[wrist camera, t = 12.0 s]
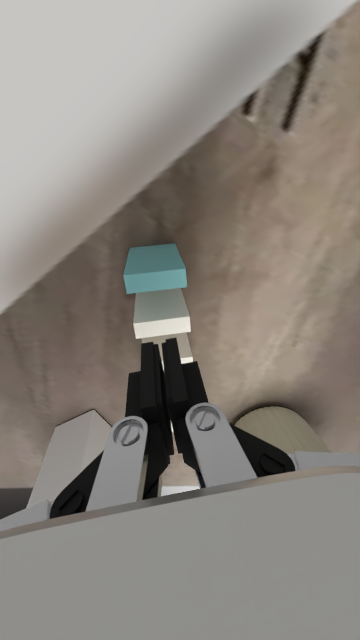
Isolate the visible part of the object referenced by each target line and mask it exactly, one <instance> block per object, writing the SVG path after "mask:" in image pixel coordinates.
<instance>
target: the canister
mask: <svg viewBox="0 0 360 640" xmlns="http://www.w3.org/2000/svg"><path fill="white" fill-rule="evenodd" d="M234 426H236V427H238V428H240V429H242V430H244V431H246V432H248V433H250V434H252V435H254V436H256V437H258V438H260V439H262V440H264V441H265V442H267V443H269V444H271V445H273V446H275V447H277V448H279V449H281V450H282V451H284V452H285V453H287V454H295V451H303V452H329V453H332V452H331V450H330V449H329V448H328V447H327V446H326V444H325V443H324V442H323V441H322V440H321V438H320V437H319V436H318V435H317V434H316V433H315V431H314V430H313V429H312V428H311V427H310V426H309V425H308V423H307V422H306V421H305V420H304V419H303V418H302V417H301V416H299V415H298V414H297V413H295V412H294V411H292V410H290V409H288V408H284V407H278V406H275V407H273V406H270V407H264V408H259V409H257V410H254V411H252V412H249V413H248V414H245V415H244V416H243V417H241V418H240V420H238V421H237V422H236V424H235V425H234Z"/></svg>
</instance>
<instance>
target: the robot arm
mask: <svg viewBox="0 0 360 640" xmlns="http://www.w3.org/2000/svg"><path fill="white" fill-rule="evenodd" d="M165 340H166V342H164V343H162V354H163V365H164V370H163V365H162V360H161V356H160V351H159V346H158V344H154V343H153V342H147V343H142V345H141V371H139V372H134V373H129V378H128V390H127V402H126V413H125V418H123V419H121V420H119V421H118V422H117V423H115V425H114V426H113V427H112V428H111V431H110V433H109V436H108V439H107V442H106V446H105V449H104V450H103V451H102V452H101V453H100V454H99V455H98V456H97V457H96V458H95V459H94V460H93V461H92V462H91V463H90V464H89V465H88V466H87V467H86V468H85V469H84V470H83V471H82V472H81V473H80V474H79V475H78V476H77V477H76V478H75V479H74V480H73V481H72V482H71V483H70V484H69V485H67V486H66V487H65V488H64V489H63V490H62V491H61V493H60V494H59V495H58V496H57V497H56V499H55V500H53V501H51V502H50V501H49V500H48V499H47V500H45V501H43V502H40V503H38V504H36V505H33V506H31V507H29V508H26V509H24V510H22V511H19V512H17V513H15V514H12V515H10V516H8V517H6V518H3V519H1V520H0V640H360V455H356V454H351V453H329V452H303V451H295V454H287V453H285V452H284V451H282V450H281V449H279V448H277V447H275V446H273V445H271V444H269V443H267V442H265V441H264V440H262V439H260V438H258V437H256V436H254V435H252V434H250V433H248V432H246V431H244V430H242V429H240V428H238V427H236V426H234V425H232V424H230V423H228V421H227V419H226V417H225V415H224V413H223V412H222V410H221V409H220V408H219V407H218V406H216V405H214V404H211V403H208V399H207V396H206V392H205V388H204V385H203V381H202V377H201V374H200V370H199V367H198V363H197V361H195V362H189V363H184V364H181V359H180V354H179V349H178V343H177V338H170V339H165ZM171 423H172V427H173V432H174V436H175V441H176V445H177V450H178V454H179V453H182V454H183V459H184V463H186V464H187V465H189V466H190V467H191V468H193V469H194V470H195V475H196V478H197V481H198V484H199V487H200V489H197V490H192V491H187V492H182V493H177V494H171V495H166V496H161V488H162V473H163V472H164V470H165V469H166V468H167V466H168V464H170V456H169V455H174V447H173V438H172V428H171Z"/></svg>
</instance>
